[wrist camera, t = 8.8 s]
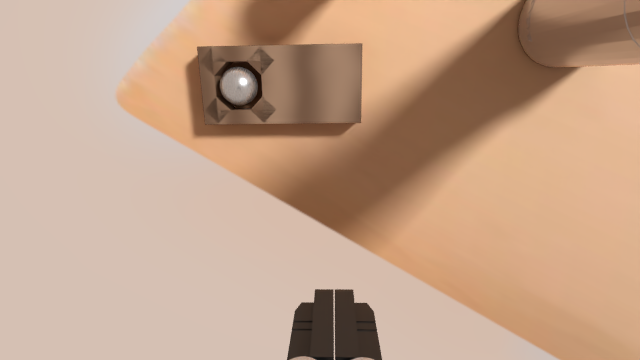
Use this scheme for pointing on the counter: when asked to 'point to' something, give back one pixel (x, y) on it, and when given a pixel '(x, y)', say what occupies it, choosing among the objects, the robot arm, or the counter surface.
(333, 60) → the brown ball holder
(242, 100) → the ball
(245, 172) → the counter surface
